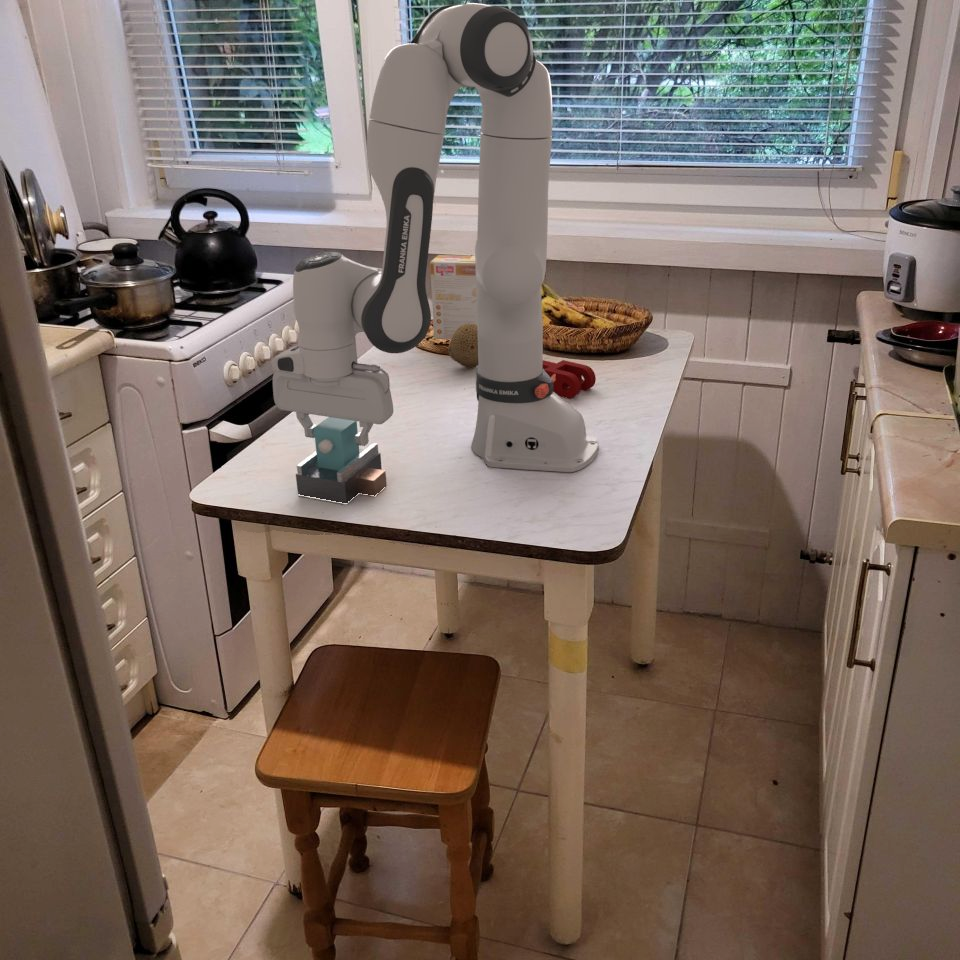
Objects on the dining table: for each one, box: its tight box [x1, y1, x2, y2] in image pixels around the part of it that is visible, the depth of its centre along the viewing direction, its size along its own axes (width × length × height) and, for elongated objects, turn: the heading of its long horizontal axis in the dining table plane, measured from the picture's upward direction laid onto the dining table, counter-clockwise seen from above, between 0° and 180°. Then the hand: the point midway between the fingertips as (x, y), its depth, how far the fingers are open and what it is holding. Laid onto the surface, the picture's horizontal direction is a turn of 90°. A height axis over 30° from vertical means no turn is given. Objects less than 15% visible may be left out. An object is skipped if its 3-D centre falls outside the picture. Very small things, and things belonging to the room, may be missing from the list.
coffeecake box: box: [429, 254, 477, 340], centre depth 223 cm, size 15×7×20 cm, turn 77°
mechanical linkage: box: [543, 359, 597, 400], centre depth 199 cm, size 16×7×5 cm, turn 51°
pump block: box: [314, 417, 360, 471], centre depth 158 cm, size 5×6×7 cm
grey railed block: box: [295, 442, 388, 504], centre depth 160 cm, size 12×12×6 cm
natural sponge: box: [447, 323, 478, 369], centre depth 209 cm, size 9×9×10 cm
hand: (336, 440), depth 158 cm, fingers open, 8 cm apart
